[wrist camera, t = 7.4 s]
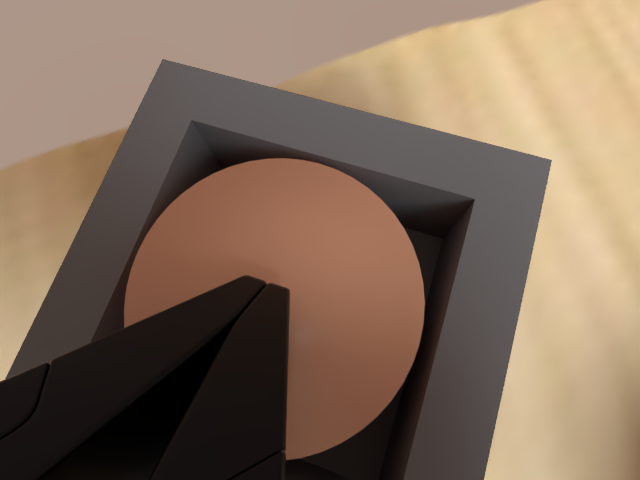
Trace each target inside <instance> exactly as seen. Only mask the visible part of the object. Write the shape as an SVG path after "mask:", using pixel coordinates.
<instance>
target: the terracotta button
mask: <svg viewBox="0 0 640 480" xmlns="http://www.w3.org/2000/svg"><path fill="white" fill-rule="evenodd" d="M244 275H249V276H252V277H255V278H258V279H261V280H264V281H266V283H267V284H268V283H274V284H277V285H280V286H283V287H286V288H288V289H289V290H290V319H289V355H288V391H287V427H286V451H285V454H286V460H291V459H298V458H303V457H306V456H310V455H313V454H316V453H320V452H323V451H325V450H327V449H329V448H332V447H334V446H336V445H338V444H340V443H342V442H344V441H345V440H347V439H349V438H350V437H352V436H353V435H355V434H356V433H358V432H360V431H361V430H362V429H363V428H364V427H366V426H367V425H368V424H369V423H370V422H372V421H373V420H374V419H375V418H376V417H377V416H378V415H379V414H380V413H381V412H382V411H383V410H384V408H385V407H386V406H387V405H388V404H389V403H390V402H391V401H392V399H393V398H394V396H395V395H396V393H397V392H398V390H399V389H400V387H401V386H402V384H403V383H404V381H405V379H406V377H407V375H408V373H409V371H410V369H411V367H412V365H413V362H414V359H415V356H416V353H417V350H418V347H419V344H420V339H421V334H422V329H423V324H424V308H425V300H424V286H423V279H422V274H421V270H420V265H419V262H418V259H417V256H416V253H415V250H414V247H413V245H412V243H411V241H410V239H409V237H408V235H407V233H406V231H405V229H404V228H403V226H402V225H401V223H400V222H399V220H398V219H397V217H396V216H395V214H394V213H393V212H392V211H391V210H390V208H389V207H388V206H387V205H386V204H385V203H384V202H383V201H382V199H380V198H379V197H378V196H377V195H376V194H375V193H373V192H372V191H371V190H370V189H369V188H368V187H366V186H365V185H363V184H362V183H360V182H359V181H357V180H356V179H354V178H353V177H351V176H349V175H347V174H345V173H343V172H341V171H339V170H337V169H334V168H331V167H328V166H325V165H322V164H319V163H315V162H310V161H305V160H299V159H288V158H275V159H261V160H255V161H248V162H245V163H241V164H237V165H234V166H230V167H228V168H226V169H223V170H221V171H218V172H216V173H214V174H212V175H210V176H208V177H206V178H204V179H203V180H201V181H199V182H197V183H196V184H195V185H193V186H192V187H190V188H189V189H188V190H186V191H185V192H183V193H182V194H181V195H180V196H179V197H178V198H177V199H176V200H174V201H173V202H172V203H171V204H170V205H169V206H168V207H167V208H166V210H165V211H164V212H163V213H162V214H161V215H160V216H159V218H158V219H157V220H156V222H155V223H154V224H153V226H152V227H151V229H150V230H149V232H148V233H147V235H146V237H145V238H144V240H143V242H142V244H141V246H140V248H139V250H138V252H137V255H136V257H135V260H134V263H133V265H132V268H131V271H130V275H129V279H128V283H127V287H126V295H125V304H124V328H125V327H127V326H129V325H132V324H134V323H136V322H139V321H141V320H143V319H145V318H148V317H150V316H152V315H155V314H157V313H159V312H161V311H164V310H166V309H168V308H170V307H173V306H175V305H177V304H180V303H182V302H184V301H186V300H189V299H191V298H193V297H196V296H198V295H200V294H202V293H205V292H207V291H209V290H211V289H214V288H216V287H218V286H221V285H223V284H225V283H227V282H230V281H232V280H234V279H236V278H239V277H241V276H244Z"/></svg>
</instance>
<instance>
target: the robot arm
mask: <svg viewBox="0 0 640 480" xmlns="http://www.w3.org/2000/svg"><path fill="white" fill-rule="evenodd" d="M289 319H290V290H289V289H288V288H286V287H283V286H280V285H277V284H274V283H268V284H267V283H266V281H264V280H261V279H258V278H255V277H252V276H249V275H244V276H241V277H239V278H236V279H234V280H232V281H230V282H227V283H225V284H223V285H221V286H218V287H216V288H214V289H211V290H209V291H207V292H205V293H202V294H200V295H198V296H196V297H193V298H191V299H189V300H186V301H184V302H182V303H180V304H177V305H175V306H173V307H170V308H168V309H166V310H164V311H161V312H159V313H157V314H155V315H152V316H150V317H148V318H145V319H143V320H141V321H139V322H136V323H134V324H132V325H129V326H127V327H125V328H123V329H120V330H118V331H116V332H114V333H111V334H109V335H107V336H104V337H102V338H100V339H98V340H95V341H93V342H91V343H88V344H86V345H84V346H82V347H79V348H77V349H75V350H73V351H70V352H68V353H66V354H63V355H61V356H59V357H57V358H54V359H52V361H51V362H50V364H49V363H47V362H45V363H42V364H40V365H38V366H36V367H33V368H31V369H29V370H27V371H24V372H22V373H20V374H17V375H15V376H13V377H10V378H8V379H5V380H3V381H1V382H0V480H285V473H286V454H285V451H286V427H287V391H288V355H289Z"/></svg>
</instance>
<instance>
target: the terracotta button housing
mask: <svg viewBox="0 0 640 480" xmlns="http://www.w3.org/2000/svg"><path fill="white" fill-rule="evenodd" d="M275 158H288V159H299V160H305V161H310V162H315V163H319V164H322V165H325V166H328V167H331V168H334V169H337V170H339V171H341V172H343V173H345V174H347V175H349V176H351V177H353V178H354V179H356V180H357V181H359V182H360V183H362V184H363V185H365V186H366V187H368V188H369V189H370V190H371V191H372V192H373V193H375V194H376V195H377V196H378V197H379V198H380V199H382V201H383V202H384V203H385V204H386V205H387V206H388V207H389V208H390V210H391V211H392V212H393V213H394V214H395V216H396V217H397V219H398V220H399V222H400V223H401V225H402V226H403V228H404V229H405V231H406V233H407V235H408V237H409V239H410V241H411V243H412V245H413V247H414V250H415V253H416V256H417V259H418V262H419V265H420V270H421V274H422V279H423V286H424V300H425V308H424V324H423V329H422V334H421V339H420V344H419V347H418V350H417V353H416V356H415V359H414V362H413V365H412V367H411V369H410V371H409V373H408V375H407V377H406V379H405V381H404V383H403V384H402V386H401V387H400V389H399V390H398V392H397V393H396V395H395V396H394V398H393V399H392V401H391V402H390V403H389V404H388V405H387V406H386V407H385V408H384V410H383V411H382V412H381V413H380V414H379V415H378V416H377V417H376V418H375V419H374V420H373V421H372V422H370V423H369V424H368V425H367V426H366V427H364V428H363V429H362V430H361V431H360V432H358V433H356V434H355V435H353V436H352V437H350V438H349V439H347V440H345V441H344V442H342V443H340V444H338V445H336V446H334V447H332V448H329V449H327V450H325V451H323V452H320V453H316V454H313V455H310V456H306V457H303V458H298V459H291V460H286V473H285V480H484V476H485V471H486V466H487V462H488V457H489V452H490V448H491V443H492V438H493V434H494V429H495V424H496V419H497V415H498V410H499V405H500V401H501V396H502V391H503V387H504V382H505V377H506V373H507V368H508V363H509V358H510V354H511V349H512V344H513V340H514V335H515V330H516V326H517V321H518V316H519V312H520V307H521V302H522V297H523V293H524V288H525V283H526V279H527V274H528V269H529V265H530V260H531V255H532V251H533V246H534V241H535V236H536V232H537V227H538V222H539V218H540V213H541V208H542V204H543V199H544V194H545V190H546V185H547V180H548V175H549V171H550V166H551V161H552V160H549V159H545V158H541V157H538V156H534V155H530V154H526V153H522V152H518V151H514V150H511V149H507V148H503V147H499V146H495V145H491V144H487V143H484V142H480V141H476V140H472V139H468V138H464V137H461V136H457V135H453V134H449V133H445V132H441V131H437V130H434V129H430V128H426V127H422V126H418V125H414V124H410V123H407V122H403V121H399V120H395V119H391V118H387V117H383V116H380V115H376V114H372V113H368V112H364V111H360V110H356V109H353V108H349V107H345V106H341V105H337V104H333V103H330V102H326V101H322V100H318V99H314V98H310V97H306V96H303V95H299V94H295V93H291V92H287V91H283V90H279V89H276V88H272V87H268V86H264V85H260V84H256V83H252V82H248V81H245V80H241V79H237V78H233V77H229V76H225V75H222V74H218V73H214V72H210V71H206V70H202V69H199V68H195V67H191V66H187V65H183V64H179V63H175V62H171V61H168V60H164V59H163V60H162V62H161V64H160V66H159V68H158V70H157V72H156V74H155V76H154V78H153V80H152V82H151V84H150V86H149V88H148V90H147V92H146V94H145V96H144V98H143V100H142V103H141V104H140V106H139V108H138V111H137V112H136V114H135V117H134V119H133V121H132V123H131V125H130V127H129V129H128V131H127V133H126V135H125V137H124V139H123V141H122V143H121V145H120V147H119V149H118V151H117V153H116V155H115V157H114V159H113V161H112V163H111V165H110V167H109V169H108V171H107V173H106V175H105V177H104V180H103V182H102V184H101V186H100V188H99V190H98V192H97V194H96V196H95V198H94V200H93V202H92V204H91V206H90V208H89V210H88V212H87V214H86V216H85V218H84V220H83V222H82V224H81V226H80V228H79V230H78V232H77V234H76V236H75V238H74V240H73V243H72V245H71V247H70V249H69V251H68V253H67V255H66V257H65V259H64V261H63V263H62V265H61V267H60V269H59V271H58V273H57V275H56V277H55V279H54V281H53V283H52V285H51V287H50V289H49V291H48V293H47V295H46V297H45V299H44V301H43V303H42V306H41V308H40V310H39V312H38V314H37V316H36V318H35V320H34V322H33V324H32V326H31V328H30V330H29V332H28V334H27V336H26V338H25V340H24V342H23V344H22V346H21V348H20V350H19V352H18V354H17V356H16V358H15V360H14V362H13V364H12V366H11V369H10V371H9V373H8V375H7V377H6V379H8V378H10V377H13V376H15V375H17V374H20V373H22V372H24V371H27V370H29V369H31V368H33V367H36V366H38V365H40V364H42V363H45V362H47V363H49V364H50V362H51V361H52V359H54V358H57V357H59V356H61V355H63V354H66V353H68V352H70V351H73V350H75V349H77V348H79V347H82V346H84V345H86V344H88V343H91V342H93V341H95V340H98V339H100V338H102V337H104V336H107V335H109V334H111V333H114V332H116V331H118V330H120V329H123V328H124V304H125V295H126V287H127V283H128V279H129V275H130V271H131V268H132V265H133V263H134V260H135V257H136V255H137V252H138V250H139V248H140V246H141V244H142V242H143V240H144V238H145V237H146V235H147V233H148V232H149V230H150V229H151V227H152V226H153V224H154V223H155V222H156V220H157V219H158V218H159V216H160V215H161V214H162V213H163V212H164V211H165V210H166V208H167V207H168V206H169V205H170V204H171V203H172V202H173V201H174V200H176V199H177V198H178V197H179V196H180V195H181V194H182V193H183V192H185V191H186V190H188V189H189V188H190V187H192V186H193V185H195V184H196V183H197V182H199V181H201V180H203V179H204V178H206V177H208V176H210V175H212V174H214V173H216V172H218V171H221V170H223V169H226V168H228V167H230V166H234V165H237V164H241V163H245V162H248V161H255V160H261V159H275Z"/></svg>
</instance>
